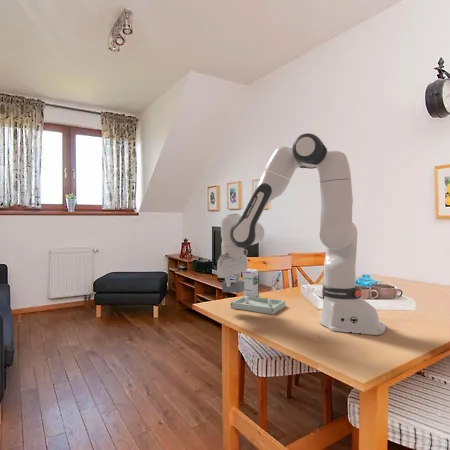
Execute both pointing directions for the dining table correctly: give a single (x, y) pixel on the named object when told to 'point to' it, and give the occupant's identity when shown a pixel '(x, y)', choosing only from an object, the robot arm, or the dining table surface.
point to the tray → (258, 304)
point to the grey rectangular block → (233, 286)
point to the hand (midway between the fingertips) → (233, 284)
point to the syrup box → (251, 283)
